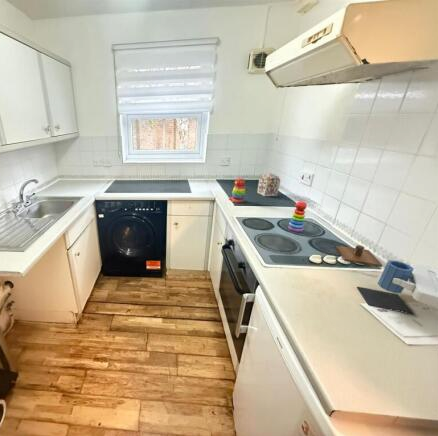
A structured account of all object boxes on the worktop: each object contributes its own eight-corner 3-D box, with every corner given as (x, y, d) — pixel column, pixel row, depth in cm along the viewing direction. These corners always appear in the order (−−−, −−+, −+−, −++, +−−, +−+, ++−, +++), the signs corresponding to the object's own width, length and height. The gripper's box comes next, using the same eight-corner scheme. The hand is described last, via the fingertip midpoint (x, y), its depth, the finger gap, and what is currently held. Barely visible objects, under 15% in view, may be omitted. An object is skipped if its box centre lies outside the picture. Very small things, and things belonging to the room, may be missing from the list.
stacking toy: (286, 228, 139) (294, 198, 132) (302, 231, 135) (311, 200, 128) (285, 233, 133) (293, 202, 125) (302, 237, 129) (311, 204, 122)
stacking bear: (227, 198, 190) (231, 176, 183) (239, 198, 191) (243, 176, 184) (234, 203, 180) (237, 180, 173) (246, 202, 181) (250, 179, 174)
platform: (366, 255, 112) (371, 242, 109) (379, 270, 100) (386, 256, 98) (333, 250, 116) (338, 237, 113) (343, 264, 105) (348, 251, 102)
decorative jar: (277, 196, 196) (282, 174, 189) (264, 196, 194) (268, 175, 187) (268, 192, 207) (273, 171, 200) (256, 192, 205) (260, 172, 198)
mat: (396, 295, 87) (397, 294, 87) (413, 314, 78) (414, 313, 78) (356, 287, 91) (357, 286, 90) (368, 305, 82) (368, 304, 82)
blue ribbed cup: (395, 283, 84) (406, 262, 80) (406, 295, 78) (418, 272, 75) (374, 280, 86) (384, 258, 82) (383, 290, 80) (393, 268, 77)
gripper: (458, 320, 66) (390, 297, 75) (442, 284, 80) (386, 268, 89) (470, 302, 64) (398, 281, 72) (451, 268, 78) (393, 254, 86)
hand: (392, 274), depth 81 cm, fingers closed on blue ribbed cup, 6 cm apart
